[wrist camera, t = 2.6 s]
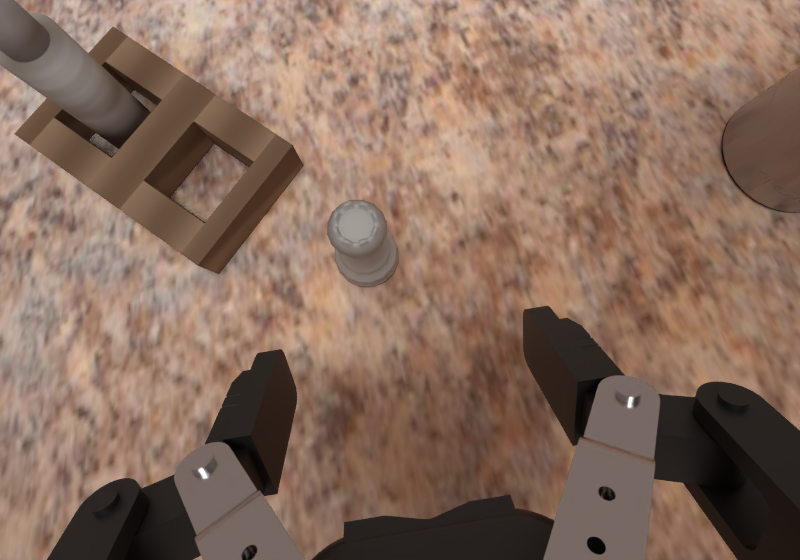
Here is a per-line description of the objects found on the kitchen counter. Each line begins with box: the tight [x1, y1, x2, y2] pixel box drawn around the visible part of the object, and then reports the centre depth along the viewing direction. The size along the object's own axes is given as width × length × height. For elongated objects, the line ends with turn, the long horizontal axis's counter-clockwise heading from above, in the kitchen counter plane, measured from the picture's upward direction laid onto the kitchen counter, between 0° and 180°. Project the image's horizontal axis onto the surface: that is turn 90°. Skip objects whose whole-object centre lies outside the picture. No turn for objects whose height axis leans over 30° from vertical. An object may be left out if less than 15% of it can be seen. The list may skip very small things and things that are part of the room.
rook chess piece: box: [327, 200, 398, 286], centre depth 25 cm, size 4×4×8 cm
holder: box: [0, 0, 303, 274], centre depth 25 cm, size 16×10×11 cm, turn 55°
